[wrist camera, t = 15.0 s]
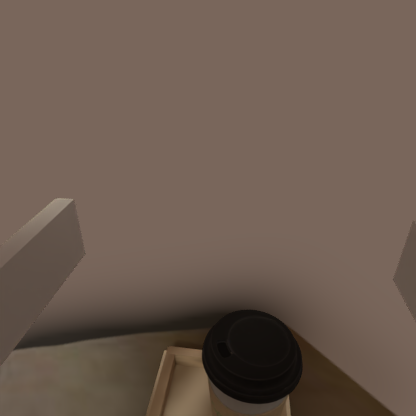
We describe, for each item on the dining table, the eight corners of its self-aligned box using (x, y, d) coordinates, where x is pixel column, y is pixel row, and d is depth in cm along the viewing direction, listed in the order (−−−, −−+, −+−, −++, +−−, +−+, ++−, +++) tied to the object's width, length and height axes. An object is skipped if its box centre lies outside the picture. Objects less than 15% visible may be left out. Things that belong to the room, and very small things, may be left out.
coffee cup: (183, 432, 38) (180, 340, 31) (237, 378, 44) (245, 290, 37) (249, 506, 32) (264, 413, 25) (301, 433, 38) (324, 341, 31)
